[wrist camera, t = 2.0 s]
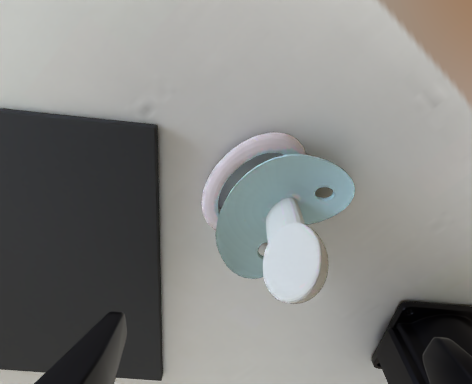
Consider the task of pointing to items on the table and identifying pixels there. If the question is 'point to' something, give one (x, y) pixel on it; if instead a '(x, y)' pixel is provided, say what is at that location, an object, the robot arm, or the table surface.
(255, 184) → the pacifier
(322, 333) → the table surface
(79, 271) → the mat
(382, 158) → the table surface
